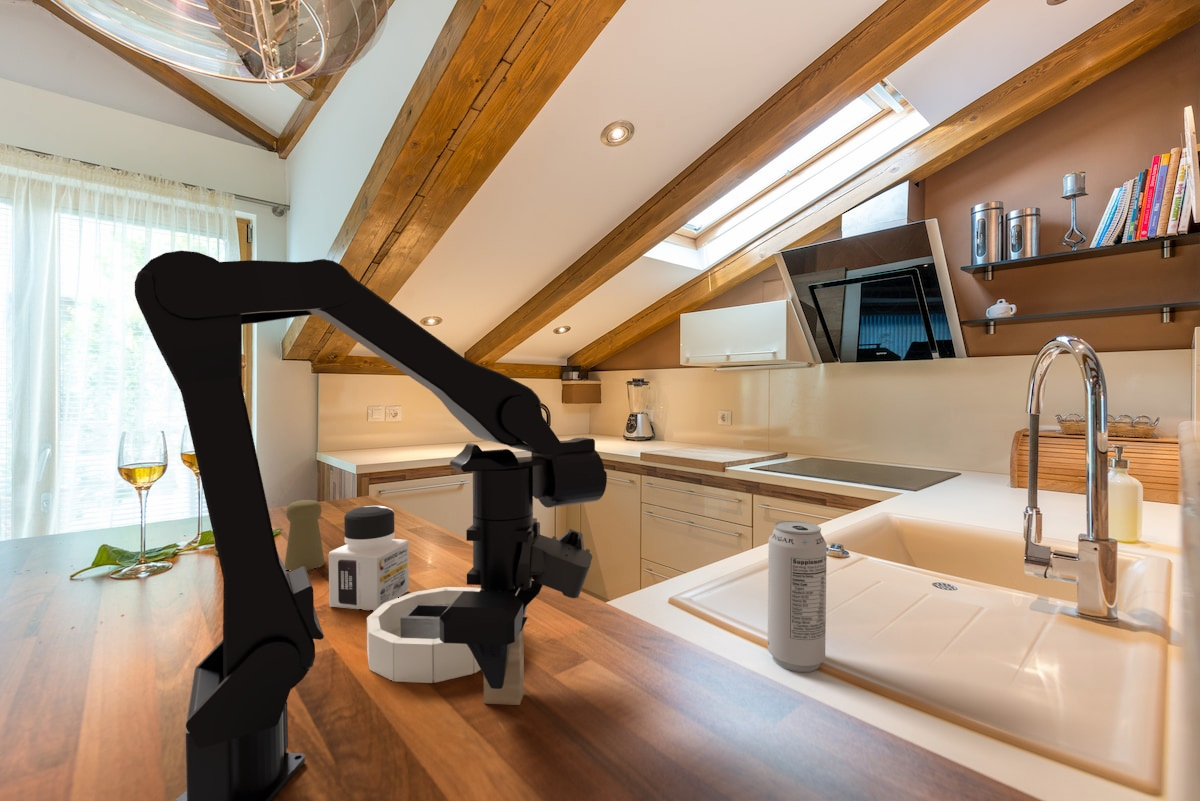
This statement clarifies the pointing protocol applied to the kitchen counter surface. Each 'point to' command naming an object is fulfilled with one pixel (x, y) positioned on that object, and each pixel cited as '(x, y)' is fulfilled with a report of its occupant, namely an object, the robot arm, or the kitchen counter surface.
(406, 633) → the open rectangular box
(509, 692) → the wooden block
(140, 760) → the kitchen counter surface
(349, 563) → the container
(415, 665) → the white faceted bowl
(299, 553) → the cork
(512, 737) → the kitchen counter surface
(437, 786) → the kitchen counter surface
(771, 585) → the energy drink can
